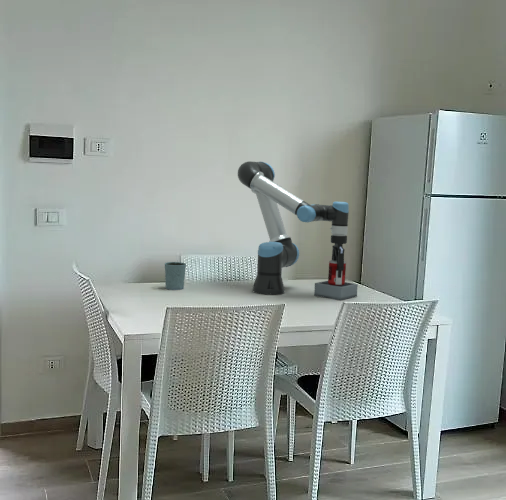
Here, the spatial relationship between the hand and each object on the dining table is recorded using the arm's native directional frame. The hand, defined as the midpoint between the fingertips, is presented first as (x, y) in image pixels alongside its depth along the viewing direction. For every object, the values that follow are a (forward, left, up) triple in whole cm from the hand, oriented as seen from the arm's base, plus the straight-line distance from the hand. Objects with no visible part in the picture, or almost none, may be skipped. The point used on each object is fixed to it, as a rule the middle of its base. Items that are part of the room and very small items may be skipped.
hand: (336, 282), depth 327 cm
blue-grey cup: (-61, -46, -7) cm, 77 cm away
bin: (0, 0, -6) cm, 6 cm away
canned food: (0, 0, -1) cm, 1 cm away
